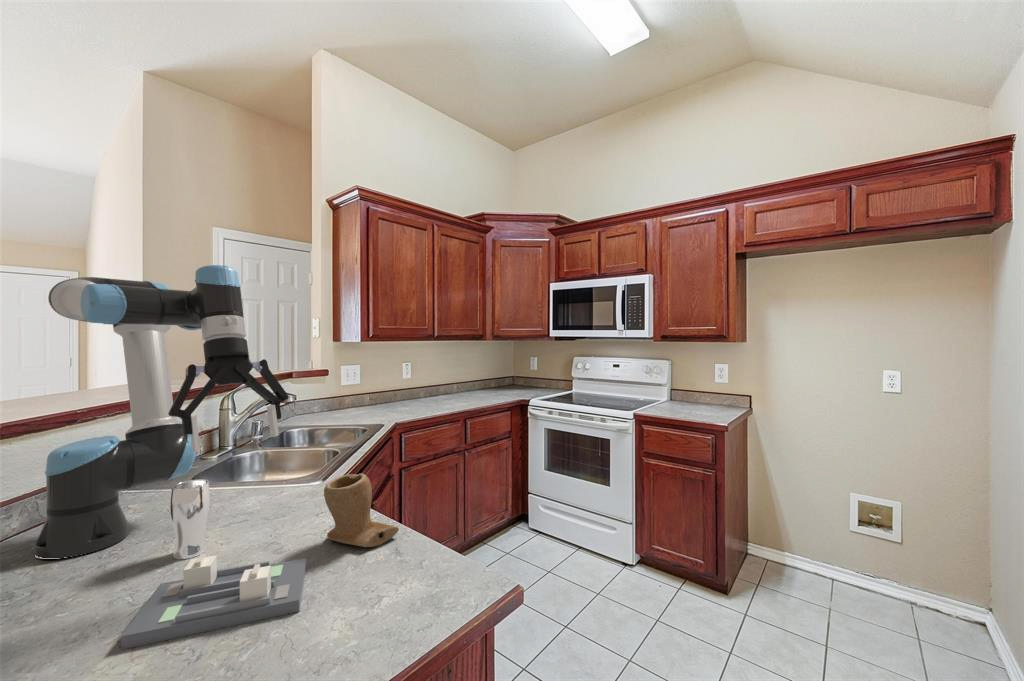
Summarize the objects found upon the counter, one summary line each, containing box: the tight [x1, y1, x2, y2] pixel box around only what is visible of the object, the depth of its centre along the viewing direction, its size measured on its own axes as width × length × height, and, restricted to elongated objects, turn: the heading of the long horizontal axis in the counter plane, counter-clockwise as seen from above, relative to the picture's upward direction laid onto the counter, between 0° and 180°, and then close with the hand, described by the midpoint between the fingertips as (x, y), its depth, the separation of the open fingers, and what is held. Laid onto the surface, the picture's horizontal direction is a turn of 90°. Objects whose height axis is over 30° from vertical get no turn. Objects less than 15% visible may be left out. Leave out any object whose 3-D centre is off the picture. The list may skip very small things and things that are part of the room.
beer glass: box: [169, 478, 211, 560], centre depth 93 cm, size 7×7×15 cm
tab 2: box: [240, 564, 271, 602], centre depth 73 cm, size 4×4×5 cm
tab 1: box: [182, 553, 218, 589], centre depth 77 cm, size 4×4×5 cm
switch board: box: [120, 557, 307, 651], centre depth 75 cm, size 24×15×3 cm, turn 112°
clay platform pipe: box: [323, 473, 400, 548], centre depth 98 cm, size 15×12×15 cm
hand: (237, 443), depth 85 cm, fingers open, 13 cm apart
